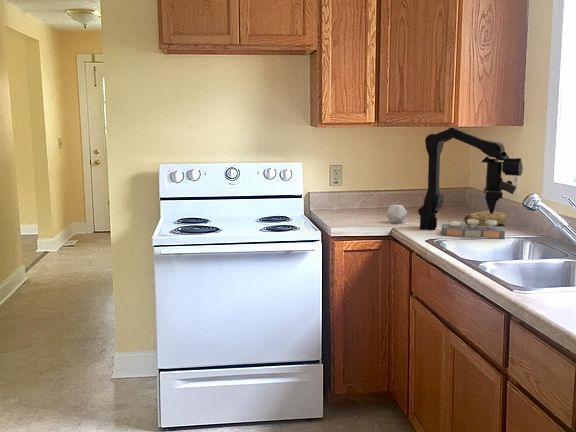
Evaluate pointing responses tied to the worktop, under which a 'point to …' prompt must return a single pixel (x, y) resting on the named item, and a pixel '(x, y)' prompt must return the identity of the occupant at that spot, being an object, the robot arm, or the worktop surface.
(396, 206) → the die
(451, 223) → the button left
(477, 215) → the sponge
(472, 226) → the button middle
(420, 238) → the worktop surface
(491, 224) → the button right
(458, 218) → the worktop surface
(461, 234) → the board
